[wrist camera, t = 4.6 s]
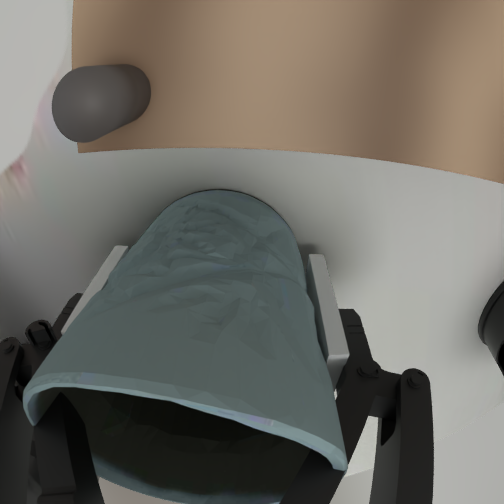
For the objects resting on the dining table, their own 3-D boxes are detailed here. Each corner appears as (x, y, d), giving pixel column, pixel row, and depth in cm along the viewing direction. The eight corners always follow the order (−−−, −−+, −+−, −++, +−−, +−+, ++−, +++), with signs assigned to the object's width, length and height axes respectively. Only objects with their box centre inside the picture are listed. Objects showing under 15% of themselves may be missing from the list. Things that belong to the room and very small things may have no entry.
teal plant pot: (289, 331, 21) (299, 512, 10) (138, 312, 20) (80, 479, 10) (327, 186, 15) (421, 410, 5) (125, 164, 15) (-40, 338, 5)
